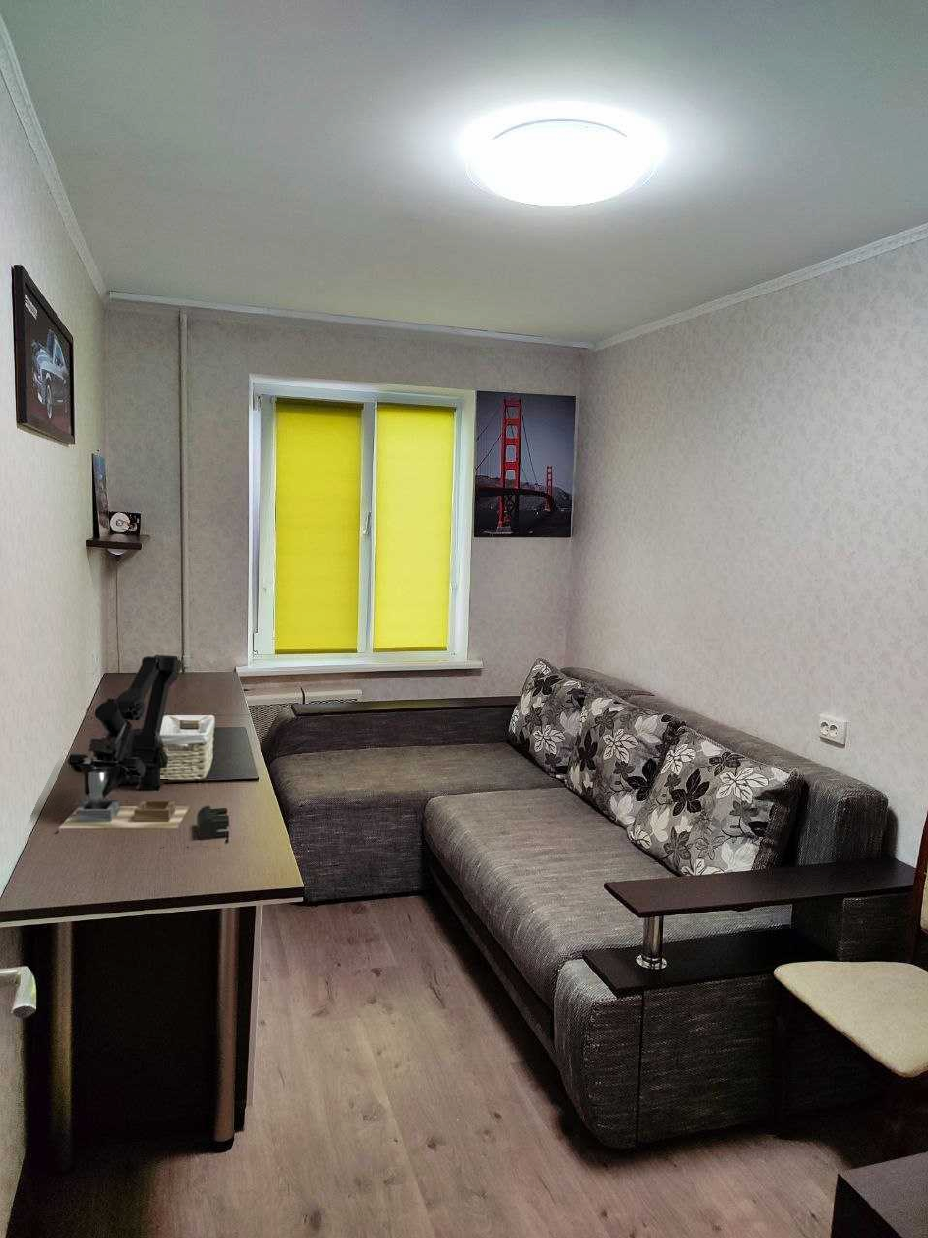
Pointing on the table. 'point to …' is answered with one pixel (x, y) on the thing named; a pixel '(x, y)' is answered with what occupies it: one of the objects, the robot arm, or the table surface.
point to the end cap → (212, 823)
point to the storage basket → (187, 746)
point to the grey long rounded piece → (97, 789)
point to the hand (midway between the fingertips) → (95, 795)
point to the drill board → (128, 815)
